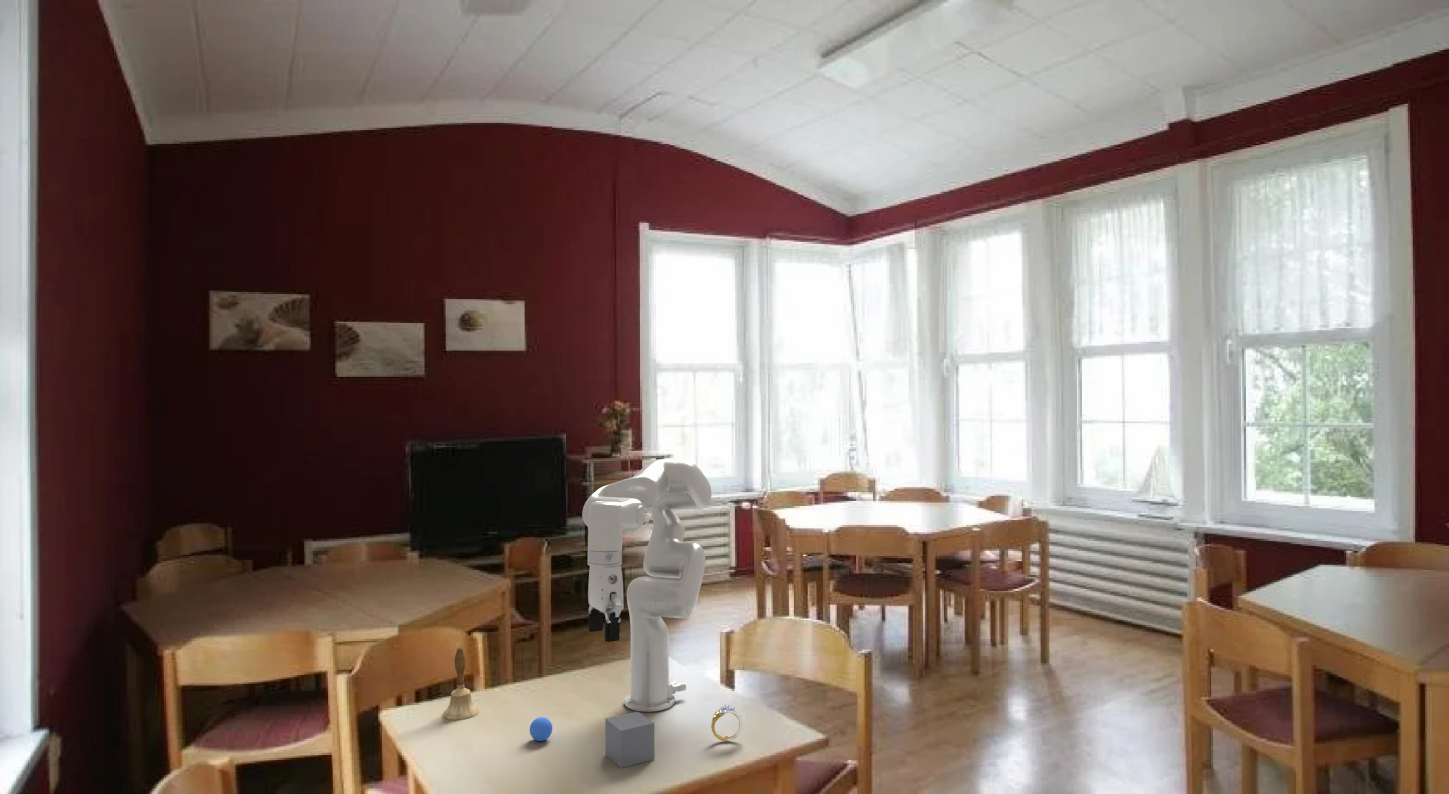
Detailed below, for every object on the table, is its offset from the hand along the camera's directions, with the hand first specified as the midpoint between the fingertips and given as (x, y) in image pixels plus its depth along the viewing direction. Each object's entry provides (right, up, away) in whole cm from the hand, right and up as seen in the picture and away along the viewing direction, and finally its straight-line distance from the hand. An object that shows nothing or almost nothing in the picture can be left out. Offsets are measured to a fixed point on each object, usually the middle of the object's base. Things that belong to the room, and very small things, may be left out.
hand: (603, 636), depth 188 cm
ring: (+27, -25, +3) cm, 37 cm away
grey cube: (+6, -25, -5) cm, 26 cm away
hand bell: (-37, -25, +20) cm, 49 cm away
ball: (-15, -22, +4) cm, 27 cm away
